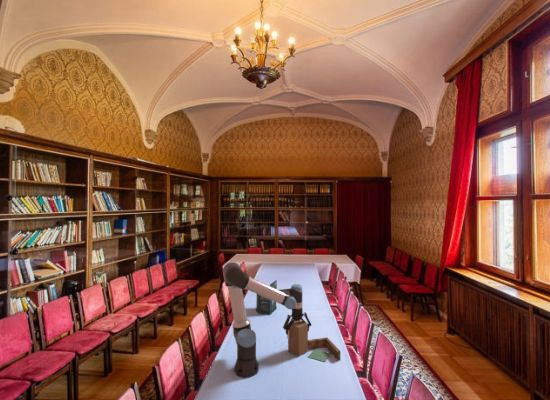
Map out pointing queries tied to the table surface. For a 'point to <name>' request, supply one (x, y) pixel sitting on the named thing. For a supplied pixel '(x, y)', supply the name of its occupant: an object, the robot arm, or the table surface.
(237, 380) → the table surface
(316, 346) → the wooden corner bracket
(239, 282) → the robot arm
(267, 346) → the table surface
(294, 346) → the wooden block
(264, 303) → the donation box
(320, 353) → the pad
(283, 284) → the table surface
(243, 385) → the table surface
